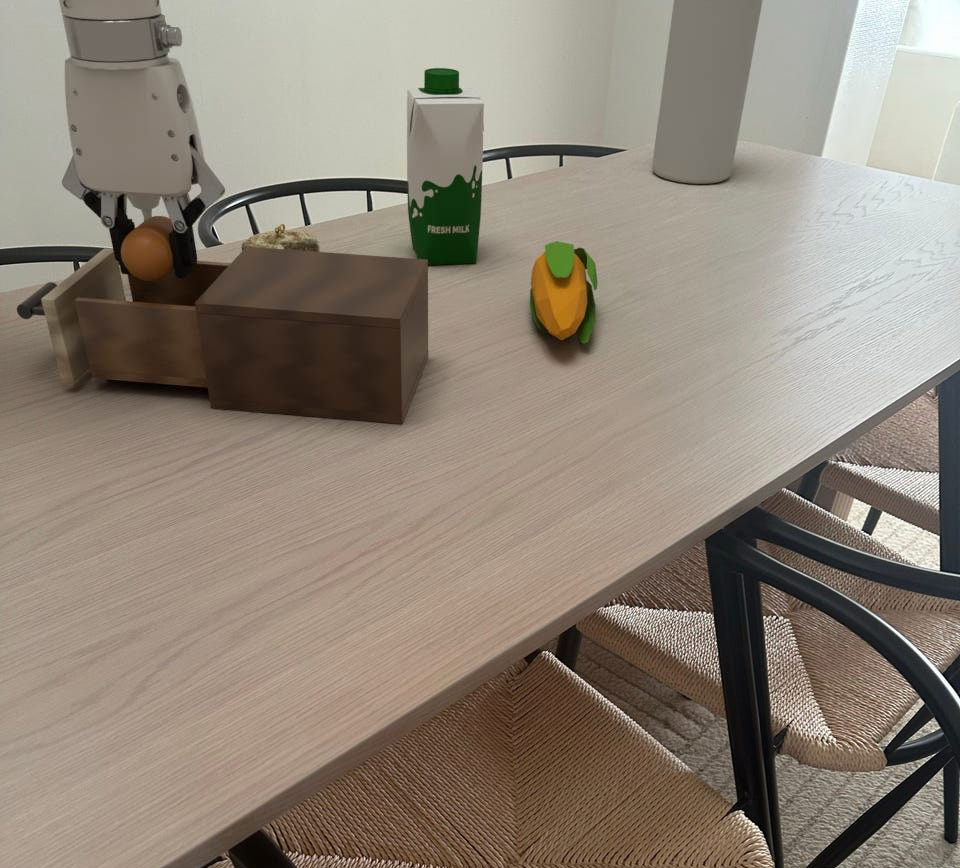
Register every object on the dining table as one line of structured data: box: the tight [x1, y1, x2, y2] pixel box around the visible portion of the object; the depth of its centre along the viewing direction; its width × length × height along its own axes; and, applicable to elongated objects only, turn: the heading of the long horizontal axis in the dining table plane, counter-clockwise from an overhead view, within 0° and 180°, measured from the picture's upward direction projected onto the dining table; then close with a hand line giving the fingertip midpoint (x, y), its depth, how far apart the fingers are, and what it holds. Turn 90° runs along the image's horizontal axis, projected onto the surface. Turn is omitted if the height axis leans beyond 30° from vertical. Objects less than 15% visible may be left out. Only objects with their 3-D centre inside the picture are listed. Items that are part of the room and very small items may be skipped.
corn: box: [529, 240, 598, 344], centre depth 105 cm, size 7×8×20 cm
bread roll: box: [121, 215, 174, 281], centre depth 89 cm, size 8×4×4 cm, turn 173°
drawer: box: [16, 247, 232, 389], centre depth 94 cm, size 22×14×8 cm, turn 83°
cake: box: [240, 223, 321, 252], centre depth 117 cm, size 10×10×5 cm
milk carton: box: [406, 67, 485, 266], centre depth 118 cm, size 9×9×20 cm
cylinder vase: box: [651, 0, 763, 185], centre depth 149 cm, size 12×12×25 cm
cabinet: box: [195, 247, 429, 425], centre depth 92 cm, size 18×15×10 cm
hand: (158, 269), depth 90 cm, fingers closed on bread roll, 4 cm apart
